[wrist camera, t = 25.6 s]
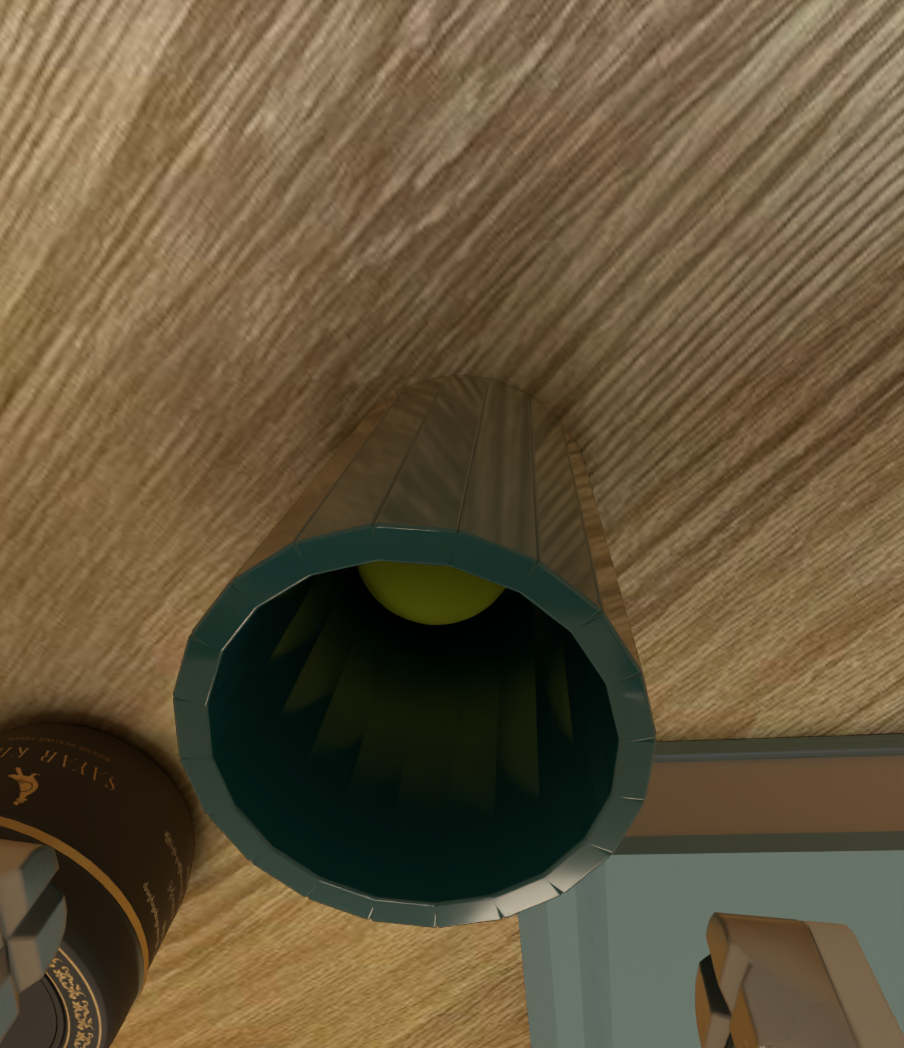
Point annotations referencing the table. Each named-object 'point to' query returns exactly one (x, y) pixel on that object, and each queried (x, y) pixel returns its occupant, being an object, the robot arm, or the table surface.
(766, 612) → the table surface
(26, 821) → the jar
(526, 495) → the tube
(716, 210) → the table surface
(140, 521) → the table surface
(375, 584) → the ball
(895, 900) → the book
